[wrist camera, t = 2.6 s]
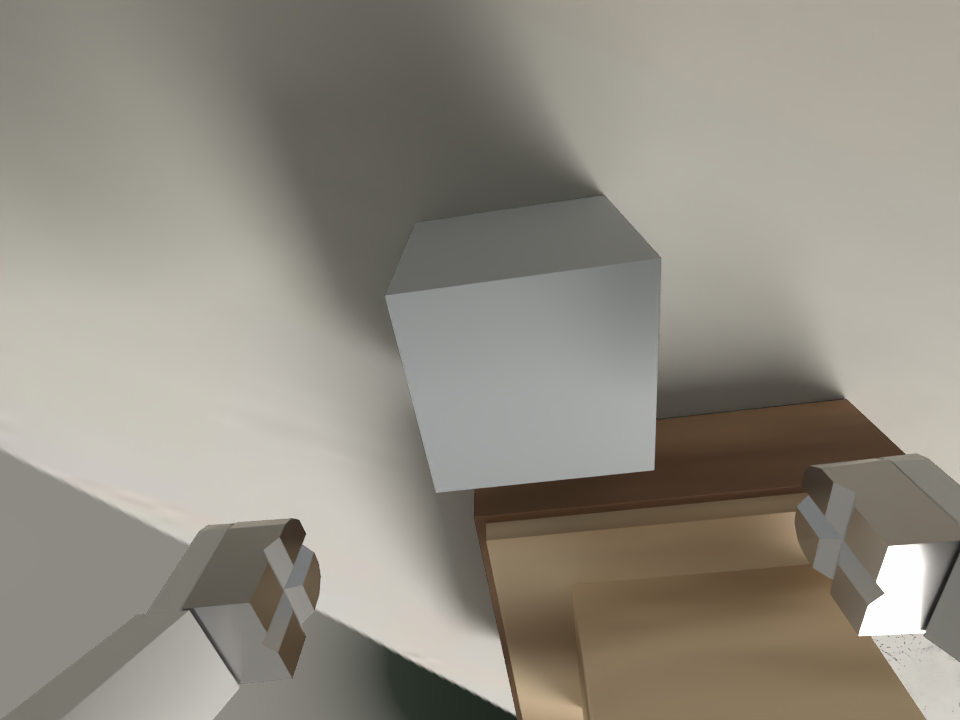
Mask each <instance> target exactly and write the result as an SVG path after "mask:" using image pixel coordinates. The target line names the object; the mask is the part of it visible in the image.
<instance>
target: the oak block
mask: <svg viewBox="0 0 960 720" xmlns="http://www.w3.org/2000/svg"><path fill="white" fill-rule="evenodd" d="M831 583H832V579H830V578H828V577H827V576H825V575H824V574H822V573H820V572H819V571H817V570H815V569H814V568H812V566H811V564H808V565H796V566H785V567H773V568H761V569H750V570H738V571H726V572H715V573H703V574H691V575H680V576H668V577H656V578H645V579H633V580H621V581H610V582H598V583H586V584H575V585H571V587H572V599H573V610H574V622H575V633H576V645H577V657H578V668H579V680H580V691H581V703H582V712H583V718H584V720H926V718H925V717H924V715H923V714H922V713H921V711H920V710H919V708H918V707H917V705H916V704H915V702H914V701H913V699H912V698H911V696H910V695H909V693H908V692H907V690H906V689H905V687H904V686H903V684H902V683H901V681H900V680H899V678H898V677H897V675H896V674H895V672H894V671H893V669H892V668H891V666H890V665H889V663H888V662H887V660H886V659H885V657H884V656H883V654H882V653H881V651H880V650H879V648H878V647H877V645H876V644H875V642H874V641H873V639H872V638H871V636H870V635H866V636H858V634H857V633H856V632H855V630H854V629H853V627H852V626H851V624H850V623H849V621H848V620H847V618H846V617H845V615H844V614H843V612H842V611H841V609H840V608H839V606H838V605H837V603H836V602H835V600H834V599H833V598H832V596H831V595H830V590H831Z"/></svg>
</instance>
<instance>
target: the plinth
mask: <svg viewBox="0 0 960 720" xmlns="http://www.w3.org/2000/svg"><path fill="white" fill-rule="evenodd" d="M898 455H906V454H905V453H904V452H903V451H902V450H901V449H900V448H898V447H897V446H896V445H895V444H894V443H893V442H892V441H891V440H890V439H889V438H888V437H887V436H886V435H885V434H883V433H882V432H881V431H880V430H879V429H878V428H877V427H876V426H875V425H874V424H873V423H872V422H871V421H870V420H869V419H867V418H866V417H865V416H864V415H863V414H862V413H861V412H860V411H859V410H858V409H857V408H856V407H855V406H854V405H852V404H851V403H850V402H849V401H848V400H847V399H842V400H833V401H824V402H815V403H806V404H797V405H787V406H778V407H769V408H760V409H751V410H742V411H733V412H724V413H715V414H705V415H696V416H687V417H678V418H669V419H660V420H656V435H655V464H654V470H651V471H642V472H632V473H622V474H613V475H603V476H593V477H584V478H574V479H564V480H555V481H545V482H535V483H526V484H516V485H506V486H497V487H487V488H477V489H475V495H474V519H475V524H476V529H477V533H478V538H479V543H480V547H481V552H482V557H483V561H484V566H485V571H486V575H487V580H488V585H489V589H490V594H491V599H492V603H493V608H494V613H495V617H496V622H497V627H498V631H499V636H500V641H501V645H502V650H503V655H504V659H505V664H506V669H507V673H508V678H509V683H510V687H511V692H512V697H513V701H514V706H515V711H516V715H517V720H584V718H583V712H582V703H581V691H580V680H579V668H578V657H577V645H576V633H575V622H574V610H573V599H572V587H571V585H575V584H586V583H598V582H610V581H621V580H633V579H645V578H656V577H668V576H680V575H691V574H703V573H715V572H726V571H738V570H750V569H761V568H773V567H785V566H796V565H808V564H810V563H809V561H808V560H807V558H806V557H805V555H804V554H803V551H802V549H801V547H800V544H799V542H798V540H797V535H796V529H795V524H794V521H795V514H796V507H797V506H798V505H799V504H800V503H801V502H802V501H803V500H804V499H805V498H806V497H807V496H808V494H807V492H806V491H805V490H804V488H803V487H802V486H801V483H802V479H803V474H804V472H805V471H806V469H807V468H808V467H809V466H810V465H819V464H828V463H837V462H846V461H855V460H864V459H873V458H875V459H878V458H880V457H889V456H898ZM870 636H872V635H870Z"/></svg>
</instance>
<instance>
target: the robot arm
mask: <svg viewBox="0 0 960 720" xmlns="http://www.w3.org/2000/svg"><path fill="white" fill-rule="evenodd" d="M801 486H802V487H803V488H804V490H805V491H806V492H807V494H808V496H807V497H806V498H805V499H804V500H803V501H802V502H801V503H800V504H799V505H798V506H797V507H796V514H795V521H794V524H795V529H796V535H797V540H798V542H799V544H800V547H801V549H802V551H803V554H804V555H805V557H806V558H807V560H808V561H809V563H810V564H811V566H812V568H814V569H815V570H817V571H819V572H820V573H822V574H824V575H825V576H827V577H828V578H830V579H832V583H831V590H830V595H831V596H832V598H833V599H834V600H835V602H836V603H837V605H838V606H839V608H840V609H841V611H842V612H843V614H844V615H845V617H846V618H847V620H848V621H849V623H850V624H851V626H852V627H853V629H854V630H855V632H856V633H857V634H858V636H866V635H887V634H908V633H924V635H923V636H924V637H925V638H927V639H928V640H930V641H931V642H932V643H934V644H935V645H937V646H938V647H939V648H941V649H942V650H944V651H945V652H946V653H948V654H949V655H951V656H952V657H953V658H955V659H956V660H957V661H959V662H960V485H959V484H958V483H957V482H955V481H954V480H953V479H952V478H951V477H950V476H948V475H947V474H946V473H945V472H944V471H943V470H941V469H940V468H939V467H938V466H937V465H935V464H934V463H933V462H932V461H931V460H930V459H928V458H926V457H924V456H921V455H919V454H907V455H898V456H889V457H880V458H878V459H875V458H873V459H864V460H855V461H846V462H837V463H828V464H819V465H810V466H809V467H808V468H807V469H806V471H805V472H804V474H803V479H802V483H801ZM305 535H306V533H305V531H304V529H303V527H302V525H301V523H300V521H299V520H297V519H293V518H289V519H276V520H262V521H249V522H236V523H232V524H218V525H208V526H206V527H205V528H203V529H202V530H200V531H199V532H198V533H197V535H196V537H195V538H194V540H193V541H192V543H191V544H190V546H189V547H188V549H187V551H186V552H185V554H184V556H183V557H182V558H181V560H180V562H179V563H178V565H177V566H176V568H175V569H174V571H173V572H172V574H171V576H170V577H169V579H168V580H167V582H166V583H165V585H164V586H163V588H162V590H161V591H160V593H159V594H158V596H157V597H156V599H155V600H154V602H153V604H152V605H151V607H150V608H149V610H148V611H147V613H146V614H139V615H135V616H134V617H133V618H132V619H130V620H129V621H128V622H126V623H125V624H124V625H123V626H121V627H120V628H119V629H117V630H116V631H115V632H113V633H112V634H111V635H110V636H108V637H107V638H106V639H104V640H103V641H102V642H101V643H99V644H98V645H97V646H95V647H94V648H93V649H91V650H90V651H89V652H88V653H86V654H85V655H84V656H82V657H81V658H80V659H79V660H77V661H76V662H75V663H73V664H72V665H71V666H69V667H68V668H67V669H66V670H64V671H63V672H62V673H60V674H59V675H58V676H56V677H55V678H54V679H53V680H51V681H50V682H49V683H48V684H46V685H45V686H43V687H42V688H41V689H40V690H39V691H37V692H36V693H34V694H33V695H32V696H31V697H29V698H28V699H27V700H25V701H24V702H23V703H21V704H20V705H19V706H18V707H16V708H15V709H14V710H12V711H11V712H10V713H9V714H7V715H6V716H5V717H3V718H2V719H1V720H213V719H214V718H215V716H216V715H217V714H218V713H219V712H220V710H221V709H222V708H223V707H224V706H225V704H226V703H227V702H228V701H229V699H230V698H231V697H232V696H233V695H234V694H235V692H236V691H237V690H238V689H239V685H238V684H245V683H255V682H264V681H273V680H283V679H292V677H293V675H294V671H295V669H296V665H297V662H298V659H299V656H300V653H301V650H302V647H303V644H304V641H305V638H306V636H305V633H304V631H303V628H302V626H301V624H302V623H303V622H304V621H305V620H306V619H307V618H308V617H309V616H310V615H311V614H312V613H313V612H314V610H315V607H316V603H317V600H318V597H319V591H320V578H321V575H320V569H319V563H318V561H317V558H316V556H315V553H314V552H313V551H311V550H310V549H308V548H307V547H305V546H304V545H302V543H303V541H304V538H305Z"/></svg>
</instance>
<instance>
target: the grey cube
mask: <svg viewBox="0 0 960 720" xmlns="http://www.w3.org/2000/svg"><path fill="white" fill-rule="evenodd" d="M660 286H661V257H660V256H659V255H658V254H657V253H656V252H655V250H654V249H653V248H652V247H651V246H650V245H649V244H648V243H647V242H646V240H645V239H644V238H643V237H642V236H641V235H640V234H639V233H638V232H637V230H636V229H635V228H634V227H633V226H632V225H631V224H630V223H629V222H628V220H627V219H626V218H625V217H624V216H623V215H622V214H621V213H620V212H619V210H618V209H617V208H616V207H615V206H614V205H613V204H612V203H611V202H610V201H609V199H608V198H607V197H606V196H605V195H600V196H593V197H587V198H580V199H573V200H566V201H559V202H552V203H546V204H539V205H532V206H525V207H518V208H511V209H504V210H498V211H491V212H484V213H477V214H470V215H463V216H457V217H450V218H443V219H436V220H429V221H422V222H416V223H415V225H414V227H413V229H412V232H411V234H410V237H409V239H408V241H407V244H406V246H405V248H404V251H403V253H402V256H401V258H400V260H399V263H398V265H397V267H396V270H395V272H394V274H393V277H392V279H391V282H390V284H389V286H388V289H387V291H386V293H385V299H386V303H387V307H388V311H389V315H390V318H391V322H392V326H393V330H394V334H395V338H396V342H397V345H398V349H399V353H400V357H401V361H402V365H403V368H404V372H405V376H406V380H407V384H408V388H409V392H410V395H411V399H412V403H413V407H414V411H415V415H416V418H417V422H418V426H419V430H420V434H421V438H422V442H423V445H424V449H425V453H426V457H427V461H428V465H429V468H430V472H431V476H432V480H433V484H434V488H435V492H436V493H439V492H449V491H458V490H468V489H477V488H487V487H497V486H506V485H516V484H526V483H535V482H545V481H555V480H564V479H574V478H584V477H593V476H603V475H613V474H622V473H632V472H642V471H651V470H654V464H655V435H656V405H657V375H658V345H659V315H660Z"/></svg>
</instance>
